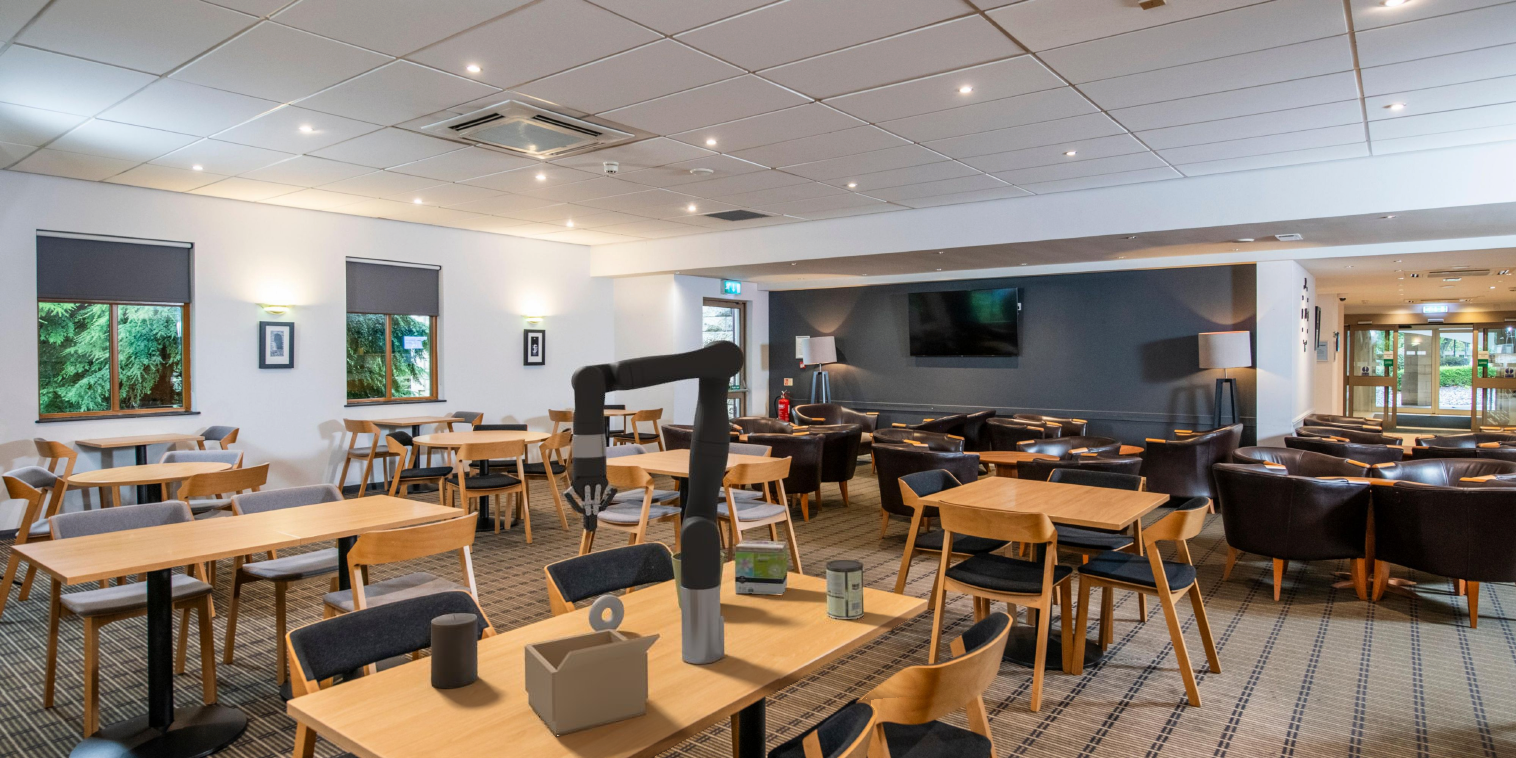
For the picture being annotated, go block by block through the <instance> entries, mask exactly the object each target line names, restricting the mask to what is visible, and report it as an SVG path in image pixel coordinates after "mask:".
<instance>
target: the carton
mask: <svg viewBox="0 0 1516 758" xmlns="http://www.w3.org/2000/svg"><path fill="white" fill-rule="evenodd" d="M625 640H629V639H628V637H625V636H624V635H623V634H622V633H620V632H618V631H617V629H615V630H614V629H606V630H601V631H591V632H585V633H581V634H575V635H570V636H563V637H559V638H554V639H548V640H541V641H538V642H533V643H528V644H526V645H524V684H525V685H524V689H525V691H526V693H527V694H528V695H527V696H528V697H527V699H528V700H527V701H528V702H527V703H528V705H529V707H531V709H532V708H533V709H532V710H533V711H534V712H535V714H536V713H537V714H538V715H539V716H540V717H539V716H538V715H537V714H536V715H537V716H538V717H539V719H542V720H543V721H544V722H545V723H544V722H543V721H542V720H541V721H542V722H543V723H544V724H545V726H546V725H547V726H548V727H547V726H546V727H547V728H548V729H549V730H550V732H551V731H552V732H553V733H554V734H553V733H552V732H551V733H552V734H553V735H554V736H555V737H556V736H557V735H561V736H564V735H563V734H565V735H568V734H567V733H569V734H572V733H571V732H573V733H576V732H577V733H578V732H580V730H581V731H585V730H588V729H593V728H595V727H596V728H597V727H601V726H604V725H609V724H613V723H616V722H620V721H623V720H627V719H633V718H636V717H639V716H643V715H646V699H647V700H648V699H649V673H648V671H649V669H648V666H649V663H648V662H649V661H648V655H649V653H648V651H646V653H644V654H640V655H635V656H630V657H625V658H621V659H616V660H611V661H606V662H602V663H597V664H592V665H587V666H583V667H578V668H573V669H568V670H563V671H559V672H558V671H557V668H558V666H559V665H560V664H561V662H562V661H563V660H564V658H565V657H566V655H567V654H568V653H569V651H574V650H579V649H584V648H589V647H594V646H599V645H605V644H610V643H615V642H620V641H625ZM557 737H558V736H557Z"/></svg>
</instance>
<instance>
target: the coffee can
mask: <svg viewBox="0 0 1516 758" xmlns="http://www.w3.org/2000/svg"><path fill="white" fill-rule="evenodd" d="M825 567H826V573H825V574H826V605H827V607H826V610H827V611H826V615H827V616H828V617H829V616H830V617H829V618H831V617H832V618H831V619H834V618H837V619H836V620H840V619H853V620H857V618H858V619H861V618H863V617H864V616H863V615H865V613H864V611H865V609H864V576H863V575H864V571H863V568H864V563H863V562H861V561H858V560H854V559H853V560H852V559H836V560H834V559H833V560H830V561H828V562H826V563H825ZM862 616H863V617H862ZM860 617H861V618H860Z"/></svg>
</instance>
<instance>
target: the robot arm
mask: <svg viewBox="0 0 1516 758" xmlns="http://www.w3.org/2000/svg"><path fill="white" fill-rule="evenodd" d="M744 363H745V356H744V352H743V351H742V349H741V348H740V346H738V344H736V343H734V342H733V341H730V340H724V339H721V340H713V341H709V342H708V343H706V344H705V346H703V347H702V348H699V349H696V350H695V349H694V350H690V351H686V352H681V353H673V354H658V355H649V356H642V357H641V356H640V357H634V358H628V359H624V360H623V359H622V360H618V361H615V362H611V363H601V364H592V365H583V366H580V367H579V368H577V369H576V370H575V371H574V372H573V374H572V376H571V387H572V389H573V394H574V396H573V397H574V398H573V399H574V411H573V415H572V430H573V431H572V444H571V448H572V449H571V454H572V456H571V458H572V480H571V482H570V487H569V488H568V489H566V490H563V491H562V492H561V496H562V498H563V499H564V500H565V501H566V502H567V504H569V506H570V507H571V509H573V511H575V512H576V513H578V514H581V515H582V523H583V525H582V528H583V529H584V530H585V531H586V532H587V533H592V532H593V533H594V532H596V529H598V514H599V513H602V512H605V511H606V510H607V508H608V507H609V505H610V504H611V502H612V501H613V499H614V498H615V496H616V495H617V494H618V488H617V487H614V486H613V485H611V484H610V483H609V480H608V478H607V472H608V471H607V464H608V463H607V439H606V431H605V430H606V427H605V424H606V423H605V422H606V421H605V405H606V394H607V393H611V392H616V391H617V392H618V391H631V390H638V389H644V388H650V387H655V386H659V385H665V384H669V383H672V382H673V383H674V382H679V381H685V380H694V379H698V392H697V402H696V408H695V411H694V412H695V413H694V418H693V424H692V425H693V426H692V432H691V440H690V447H689V457H688V459H689V460H688V494H687V495H688V496H687V502H686V507H685V509H684V515H683V518H682V523H681V525H680V532H679V539H680V542H679V543H680V552H681V609H680V610H681V612H680V613H681V614H680V615H681V616H680V617H681V619H680V620H681V659H682V660H683V661H684V662H686V663H687V664H688V663H689V664H694V665H702V664H703V665H704V664H705V665H706V664H710V663H715V662H717V661H719V660H720V659H722V658H725V657H726V656H725V617H724V616H723V615H721V589H720V572H721V565H720V552H721V534H720V531H719V527H718V505H719V498H720V497H719V495H720V491H721V488H722V484H723V481H724V477H725V474H726V470H727V467H728V466H727V465H728V461H729V453H730V445H731V444H730V443H731V423H730V418H729V417H730V415H729V410H728V409H729V408H728V394H729V389H730V384H731V378H734V377H735V376H736V375H738V373H740V372H741V370H742V368H743V366H744ZM604 493H605V494H604ZM575 494H576V495H577V497H578V498H579V499H580V504H581V505H580V504H579V503H578V501H577V500H576V499H575V496H576V495H575ZM603 494H604V496H603ZM601 496H603V497H602V498H601Z"/></svg>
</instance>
